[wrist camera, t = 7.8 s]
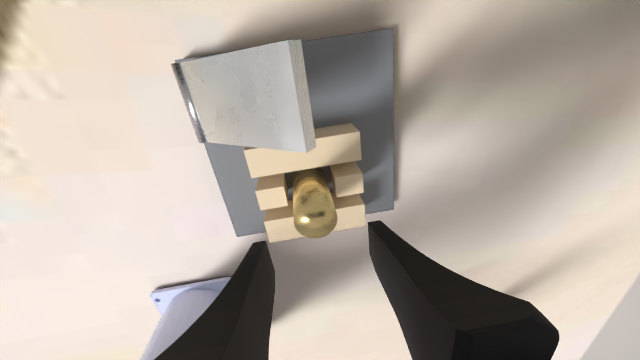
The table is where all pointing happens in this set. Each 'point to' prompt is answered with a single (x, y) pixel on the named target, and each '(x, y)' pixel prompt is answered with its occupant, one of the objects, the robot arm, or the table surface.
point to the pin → (313, 203)
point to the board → (331, 101)
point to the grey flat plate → (250, 97)
